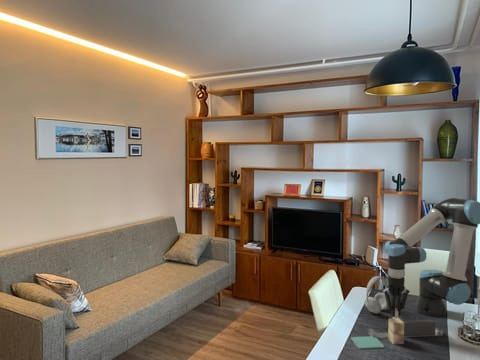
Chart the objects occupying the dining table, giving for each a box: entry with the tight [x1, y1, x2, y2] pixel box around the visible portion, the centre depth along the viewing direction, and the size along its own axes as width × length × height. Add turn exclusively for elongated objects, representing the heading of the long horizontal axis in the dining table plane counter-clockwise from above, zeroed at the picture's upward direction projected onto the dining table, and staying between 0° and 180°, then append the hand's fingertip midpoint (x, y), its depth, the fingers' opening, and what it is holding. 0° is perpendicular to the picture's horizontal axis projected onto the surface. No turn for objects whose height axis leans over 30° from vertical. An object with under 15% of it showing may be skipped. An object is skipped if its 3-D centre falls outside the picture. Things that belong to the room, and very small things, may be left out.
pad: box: [350, 335, 385, 350], centre depth 175 cm, size 12×10×1 cm
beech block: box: [387, 317, 405, 345], centre depth 176 cm, size 5×5×10 cm
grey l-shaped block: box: [398, 316, 436, 335], centre depth 186 cm, size 16×9×6 cm, turn 94°
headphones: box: [364, 275, 389, 315], centre depth 210 cm, size 19×9×20 cm, turn 126°
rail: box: [368, 325, 444, 339], centre depth 183 cm, size 35×4×2 cm, turn 94°
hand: (395, 322), depth 188 cm, fingers closed
